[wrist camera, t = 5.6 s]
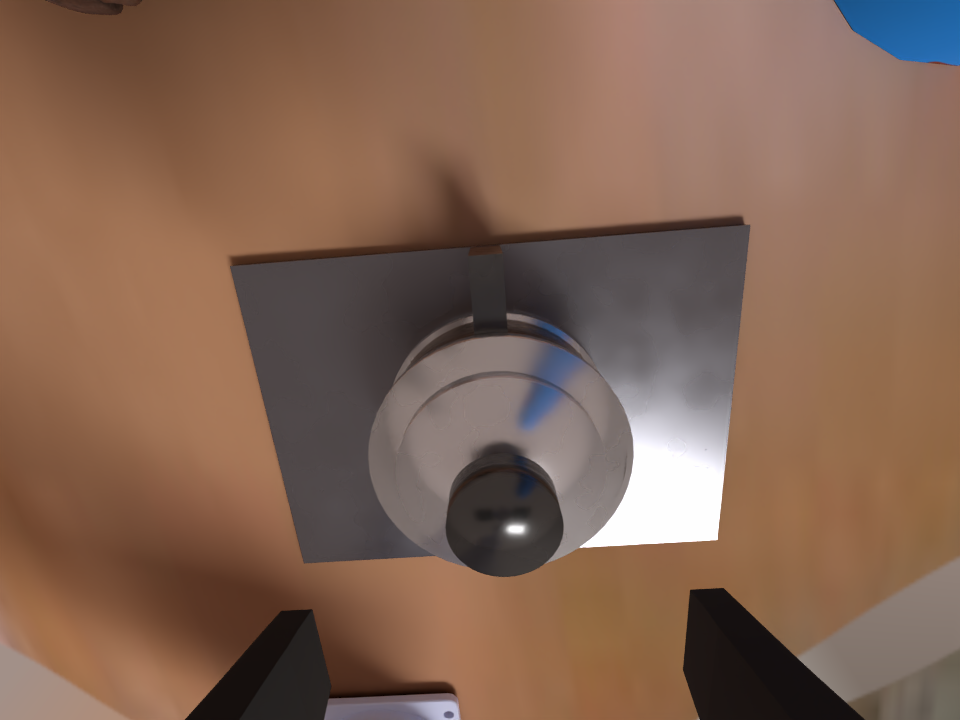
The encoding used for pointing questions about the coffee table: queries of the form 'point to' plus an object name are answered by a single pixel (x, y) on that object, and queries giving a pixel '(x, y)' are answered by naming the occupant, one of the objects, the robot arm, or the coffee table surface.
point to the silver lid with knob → (501, 470)
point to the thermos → (908, 27)
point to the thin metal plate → (501, 347)
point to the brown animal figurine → (96, 5)
